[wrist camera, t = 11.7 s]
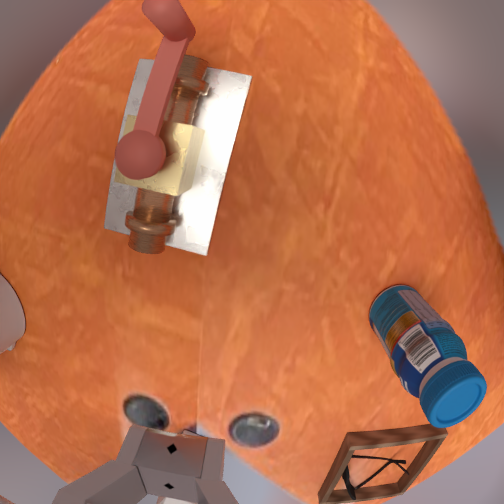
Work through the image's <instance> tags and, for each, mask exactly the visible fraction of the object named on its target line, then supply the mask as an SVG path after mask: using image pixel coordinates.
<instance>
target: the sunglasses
mask: <svg viewBox="0 0 504 504" xmlns="http://www.w3.org/2000/svg"><path fill="white" fill-rule="evenodd" d="M351 458H368V459H382V460H388V461H389V462H388V463H387V464H385V465H384V466H383V467H382V468H381V469H380V470H378V471H377V472H376V473H375V474H374V475H372V476H371V477H370V478H368V479H367V480H366V481H364V482H363V483H362V484H360V485H359V486H357V487H356V488H354V487H353V486H352V485H351V484H350V482H349V469H348V465H347V466H346V468H345V470H344V472H343V474H342V477H343V479H344V481H345V484H346V488H347V491H348V493H349V495H350V497H351V499H352V500H356V495H355V491H354V490H355V489H356V490H357V489H358V488H360V487H361V486H363V485H364V484H366V483H367V482H368V481H370V480H371V479H372V478H373V477H375V476H376V475H377V474H378V473H380V472H381V471H382V470H383V469H384V468H385V467H387V466H388V465H389V464H391V463H395V464H396V465H398V466H399V467H400V468H401V469H402V470H403V471H404V472H405V473H406V474H407V475H409V472H408V471H406V470H405V469H404V468H403V467H402V466H401V465H400V464H398V463H402V464H406V460H392V459H388V458H380V457H370V456H358V455H352V457H351Z"/></svg>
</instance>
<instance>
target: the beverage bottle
mask: <svg viewBox="0 0 504 504" xmlns="http://www.w3.org/2000/svg"><path fill="white" fill-rule="evenodd" d="M369 321H370V325H371V327H372V329H373V331H374V332H375V334H376V335H377V337H378V338H379V340H380V342H381V344H382V345H383V347H384V349H385V351H386V353H387V355H388V357H389V359H390V363H391V367H392V369H393V371H394V372H395V374H396V375H397V376H398V377H399V378H400V381H401V384H402V386H403V387H404V389H405V390H406V391H408V392H409V393H410V394H411V395H413V396H415V397H417V398H419V400H420V405H421V407H422V410H423V412H424V413H425V415H426V417H427V419H428V421H429V422H430V423H431V424H432V425H433V426H434V427H437V428H446V427H450V426H453V425H455V424H457V423H459V422H461V421H463V420H464V419H466V418H467V417H468V416H469V415H471V414H472V413H473V412H474V411H475V410H476V408H477V407H478V406H479V405H480V403H481V402H482V400H483V398H484V396H485V394H486V389H487V384H486V381H485V378H484V377H483V376H482V374H481V373H480V372H479V370H478V369H477V368H476V367H475V366H474V365H473V364H472V363H471V362H469V361H468V360H467V352H466V348H465V345H464V343H463V341H462V339H461V338H460V337H459V336H458V335H456V334H455V332H454V330H453V328H452V327H451V325H450V324H449V323H448V322H447V321H445V320H444V319H442V318H441V317H440V315H439V314H438V313H437V312H436V311H435V310H434V309H433V308H432V307H431V306H430V305H429V304H428V303H427V302H426V301H425V300H424V299H423V298H422V297H421V296H420V294H419V293H418V292H417V291H416V290H415V289H413V288H412V287H410V286H406V285H396V286H392V287H390V288H388V289H386V290H384V291H383V292H382V293H381V294H379V295H378V297H377V298H376V299H375V300H374V302H373V304H372V306H371V309H370V313H369Z"/></svg>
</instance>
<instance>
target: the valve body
mask: <svg viewBox="0 0 504 504" xmlns="http://www.w3.org/2000/svg"><path fill="white" fill-rule="evenodd" d="M154 61H155V60H149V59H139V63H138V66H137V69H136V72H135V76H134V79H133V83H132V86H131V90H130V94H129V97H128V101H127V105H126V109H125V113H124V117H123V121H122V126H121V130H120V135H119V139H118V142H119V141H120V139H121V138H122V137H123V136H124V135H126V134H127V133H129V132H131V131H133V128H134V125H135V121H136V118H137V114H138V111H139V107H140V104H141V101H142V97H143V94H144V91H145V88H146V85H147V81H148V78H149V75H150V72H151V70H152V67H153V64H154ZM251 80H252V76H249V75H245V74H240V73H235V72H230V71H225V70H220V69H215V68H209V67H208V62H207V61H205V60H203V59H200V58H197V57H194V56H190V55H184V58H183V61H182V64H181V66H180V69H179V72H178V75H177V78H176V81H175V84H174V87H173V90H172V93H171V97H170V100H169V103H168V106H167V109H166V113H165V116H164V119H163V123H162V126H161V130H160V133H159V137H160V138H161V139H162V141H163V143H164V145H165V148H166V159H165V162H164V165H163V167H162V168H161V169H160V171H159V172H158V173H156V174H155V175H153V176H151V177H149V178H145V179H141V180H132V179H129V178H127V177H125V176H124V175H123V174H122V173H121V172H120V171H119V170H118V168H117V166H116V162H115V159H114V164H113V170H112V176H111V182H110V188H109V194H108V201H107V208H106V216H105V224H104V228H105V229H109V230H112V231H116V232H120V233H123V234H127V235H130V237H129V247H130V248H132V249H133V250H135V251H138V252H141V253H147V254H158V253H162V252H163V251H164V250H165V245H168V246H172V247H176V248H179V249H183V250H187V251H191V252H194V253H198V254H202V255H207V253H208V248H209V244H210V240H211V235H212V231H213V227H214V222H215V218H216V214H217V210H218V206H219V201H220V197H221V193H222V189H223V185H224V181H225V177H226V173H227V169H228V165H229V161H230V157H231V154H232V150H233V146H234V142H235V138H236V135H237V131H238V127H239V123H240V120H241V116H242V112H243V109H244V105H245V102H246V98H247V94H248V91H249V87H250V84H251Z"/></svg>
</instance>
